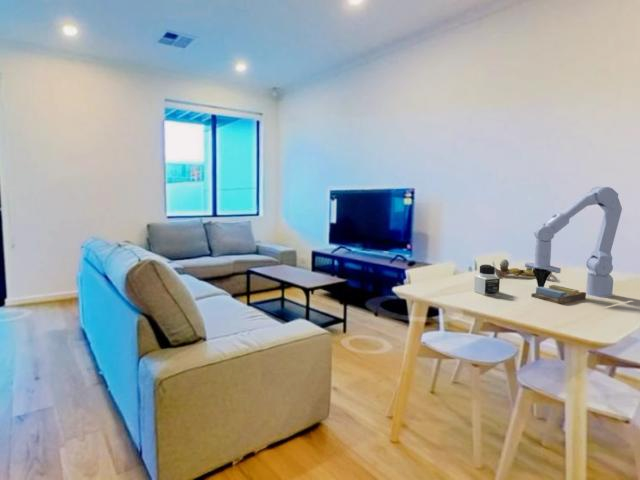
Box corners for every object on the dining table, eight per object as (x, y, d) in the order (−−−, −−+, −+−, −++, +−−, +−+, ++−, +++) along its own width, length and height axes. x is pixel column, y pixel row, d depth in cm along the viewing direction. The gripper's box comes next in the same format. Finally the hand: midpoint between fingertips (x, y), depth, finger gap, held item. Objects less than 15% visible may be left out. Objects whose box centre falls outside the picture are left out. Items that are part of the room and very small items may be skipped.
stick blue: (565, 301, 151) (565, 292, 150) (560, 302, 150) (560, 293, 149) (540, 294, 160) (541, 286, 159) (535, 295, 158) (536, 287, 158)
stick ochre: (548, 294, 161) (549, 285, 161) (553, 293, 162) (553, 284, 162) (573, 300, 152) (574, 291, 152) (578, 299, 153) (578, 290, 153)
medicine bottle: (484, 295, 161) (486, 267, 160) (473, 291, 168) (474, 264, 167) (499, 294, 163) (500, 266, 162) (487, 290, 170) (488, 263, 169)
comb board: (531, 298, 157) (531, 289, 157) (555, 293, 164) (555, 285, 164) (560, 306, 147) (561, 297, 146) (585, 300, 154) (585, 292, 153)
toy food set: (493, 278, 194) (494, 263, 192) (491, 271, 210) (492, 257, 209) (552, 282, 185) (553, 266, 184) (545, 274, 202) (546, 259, 201)
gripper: (520, 253, 169) (519, 284, 170) (553, 258, 156) (551, 291, 157) (531, 252, 172) (529, 282, 173) (564, 257, 159) (562, 289, 161)
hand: (540, 286), depth 166 cm, fingers closed
